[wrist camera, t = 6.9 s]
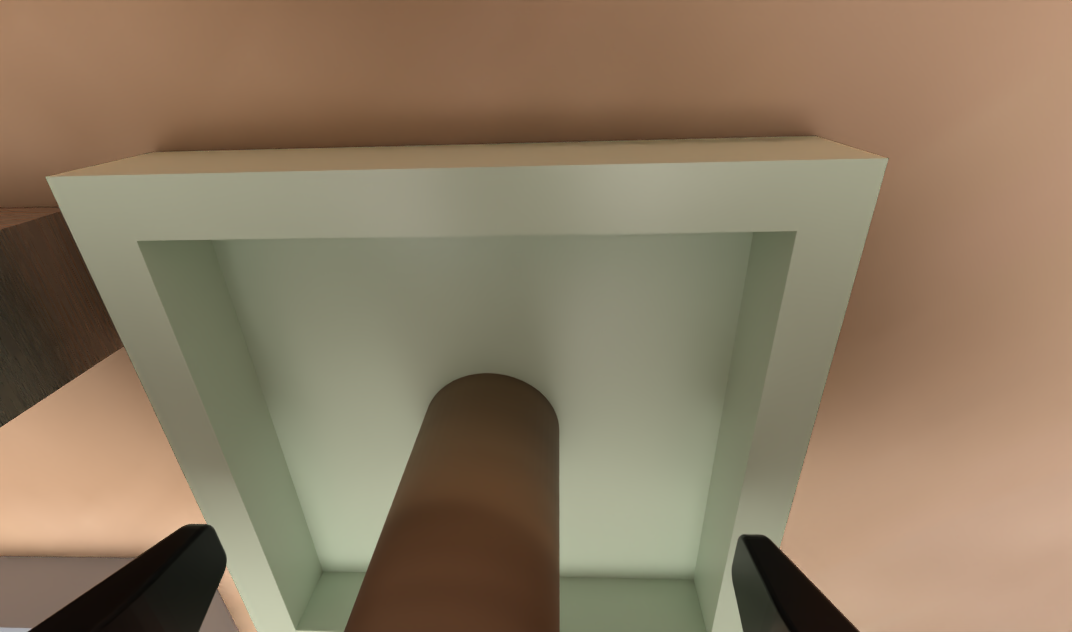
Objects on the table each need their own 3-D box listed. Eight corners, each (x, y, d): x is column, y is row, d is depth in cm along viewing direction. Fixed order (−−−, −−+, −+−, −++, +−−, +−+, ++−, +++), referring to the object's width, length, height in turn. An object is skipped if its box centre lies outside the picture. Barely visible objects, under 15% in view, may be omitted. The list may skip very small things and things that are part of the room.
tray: (720, 583, 14) (745, 668, 12) (305, 574, 15) (267, 653, 13) (815, 135, 9) (889, 157, 7) (152, 151, 9) (44, 176, 7)
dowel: (559, 479, 12) (561, 946, 6) (433, 478, 12) (298, 931, 6) (559, 373, 10) (558, 830, 4) (416, 373, 11) (216, 817, 4)
